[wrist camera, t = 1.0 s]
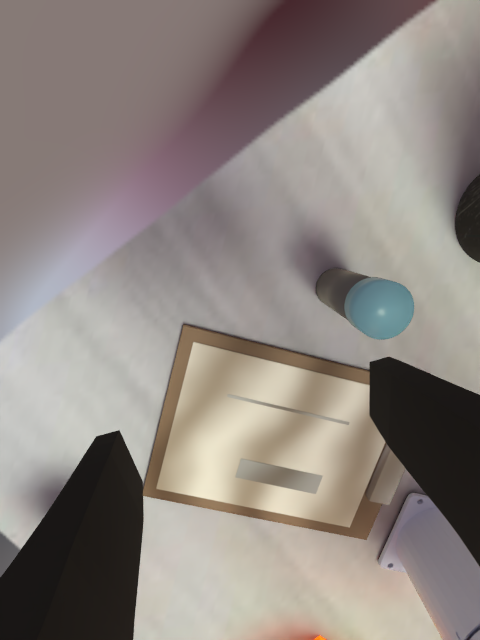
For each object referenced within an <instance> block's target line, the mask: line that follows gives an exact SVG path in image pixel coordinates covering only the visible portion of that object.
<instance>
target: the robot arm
mask: <svg viewBox="0 0 480 640" xmlns="http://www.w3.org/2000/svg"><path fill="white" fill-rule="evenodd" d="M369 416H370V417H371V419H372V421H373V422H374V424H375V426H376V427H377V429H378V431H379V432H380V434H381V436H382V437H383V439H384V440H385V442H386V443H387V445H388V447H389V448H390V449H391V450H392V452H393V453H394V454H395V456H396V457H397V458H398V459H399V461H400V462H401V463H402V464H403V466H404V467H405V468H406V469H407V471H408V472H409V473H410V474H411V476H412V477H413V478H414V479H415V481H416V482H417V483H418V484H419V486H420V487H421V488H422V489H423V491H424V492H425V493H426V494H427V495H422V494H418V493H410V494H409V495H408V496H407V499H406V501H405V503H404V505H403V507H402V510H401V512H400V514H399V516H398V518H397V521H396V523H395V525H394V527H393V529H392V532H391V534H390V536H389V538H388V540H387V543H386V545H385V547H384V549H383V551H382V554H381V556H380V558H379V560H378V563H379V565H380V567H381V568H384V569H389V570H394V571H400V572H405V573H407V574H408V576H409V578H410V580H411V581H412V583H413V585H414V587H415V589H416V591H417V593H418V594H419V596H420V598H421V600H422V602H423V604H424V606H425V608H426V609H427V611H428V613H429V615H430V617H431V619H432V621H433V622H434V624H435V626H436V628H437V630H438V632H439V634H440V635H441V637H442V639H443V640H480V395H479V394H476V393H474V392H471V391H469V390H466V389H464V388H462V387H459V386H457V385H454V384H452V383H450V382H447V381H445V380H443V379H441V378H438V377H436V376H434V375H431V374H429V373H427V372H425V371H422V370H420V369H418V368H415V367H413V366H411V365H408V364H406V363H404V362H401V361H399V360H396V359H394V358H391V357H387V358H383V359H379V360H376V361H372V362H370V392H369ZM418 500H419V501H418ZM142 532H143V482H142V479H141V477H140V475H139V472H138V470H137V468H136V466H135V464H134V461H133V459H132V457H131V455H130V453H129V450H128V448H127V446H126V444H125V442H124V439H123V437H122V435H121V433H120V431H115V432H111V433H108V434H104V435H100V436H97V437H96V438H95V439H94V441H93V443H92V444H91V446H90V447H89V449H88V450H87V452H86V453H85V455H84V456H83V458H82V460H81V461H80V463H79V464H78V466H77V467H76V469H75V471H74V472H73V474H72V475H71V477H70V478H69V480H68V482H67V483H66V485H65V486H64V488H63V489H62V491H61V492H60V494H59V495H58V497H57V498H56V500H55V501H54V503H53V504H52V506H51V507H50V509H49V510H48V512H47V514H46V515H45V517H44V518H43V519H42V521H41V522H40V524H39V525H38V527H37V528H36V529H35V531H34V532H33V534H32V535H31V536H30V538H29V539H28V541H27V542H26V543H25V545H24V546H23V548H22V549H21V550H20V552H19V553H18V555H17V556H16V558H15V559H14V560H13V562H12V563H11V564H10V566H9V567H8V568H7V570H6V571H5V573H4V574H3V575H2V576H1V577H0V640H133V633H134V618H135V607H136V597H137V586H138V576H139V565H140V554H141V543H142Z"/></svg>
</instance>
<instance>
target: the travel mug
mask: <svg viewBox="0 0 480 640" xmlns="http://www.w3.org/2000/svg"><path fill="white" fill-rule="evenodd" d="M456 233H457V237H458V240H459V242H460V245H461V246H462V248H463V249H464V251H465V252H466V253H467V254H468V255H469V256H470V257H471V258H473V259H474V260H476V261H478V262H480V175H479V176H478V177H477V178H476V179H475V180H474V181H473V182H472V183H471V184H470V185H469V187H468V188H467V189H466V191H465V193H464V194H463V196H462V198H461V200H460V203H459V206H458V209H457V213H456Z"/></svg>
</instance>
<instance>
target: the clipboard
mask: <svg viewBox="0 0 480 640" xmlns="http://www.w3.org/2000/svg"><path fill="white" fill-rule="evenodd" d="M369 392H370V371H368V370H364V369H360V368H356V367H352V366H348V365H344V364H340V363H336V362H332V361H328V360H324V359H320V358H316V357H312V356H308V355H304V354H300V353H296V352H292V351H289V350H285V349H281V348H277V347H273V346H269V345H265V344H261V343H257V342H253V341H249V340H245V339H241V338H237V337H233V336H229V335H225V334H221V333H217V332H213V331H209V330H205V329H201V328H197V327H193V326H189V325H185V324H184V325H183V329H182V333H181V337H180V341H179V345H178V349H177V354H176V358H175V362H174V366H173V370H172V374H171V378H170V382H169V386H168V391H167V395H166V399H165V403H164V407H163V411H162V415H161V419H160V423H159V428H158V432H157V436H156V440H155V444H154V448H153V452H152V456H151V460H150V464H149V469H148V473H147V477H146V481H145V485H144V489H143V496H147V497H152V498H157V499H162V500H167V501H172V502H177V503H182V504H187V505H192V506H197V507H202V508H207V509H213V510H218V511H223V512H228V513H233V514H238V515H243V516H248V517H253V518H258V519H263V520H268V521H273V522H278V523H283V524H289V525H294V526H299V527H304V528H309V529H314V530H319V531H324V532H329V533H334V534H339V535H344V536H349V537H354V538H359V539H364V540H367V538H368V535H369V533H370V531H371V528H372V526H373V524H374V522H375V519H376V517H377V515H378V512H379V510H380V508H381V506H382V504H385V505H389V504H390V502H391V500H392V498H393V495H394V493H395V491H396V489H397V486H398V484H399V482H400V480H401V477H402V475H403V473H404V471H405V467H404V466H403V464H402V463H401V462H400V461H399V459H398V458H397V457H396V456H395V454H394V453H393V452H392V450H391V449H390V448H389V447H388V445H387V443H386V442H385V440H384V439H383V437H382V436H381V434H380V432H379V431H378V429H377V427H376V426H375V424H374V422H373V421H372V419H371V417H370V416H369Z"/></svg>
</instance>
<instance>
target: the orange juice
mask: <svg viewBox="0 0 480 640" xmlns="http://www.w3.org/2000/svg"><path fill="white" fill-rule="evenodd" d="M314 640H326V639H325V638H323V637H322V636H320V635H319V636H318V637H317V638H316V639H314Z"/></svg>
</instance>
